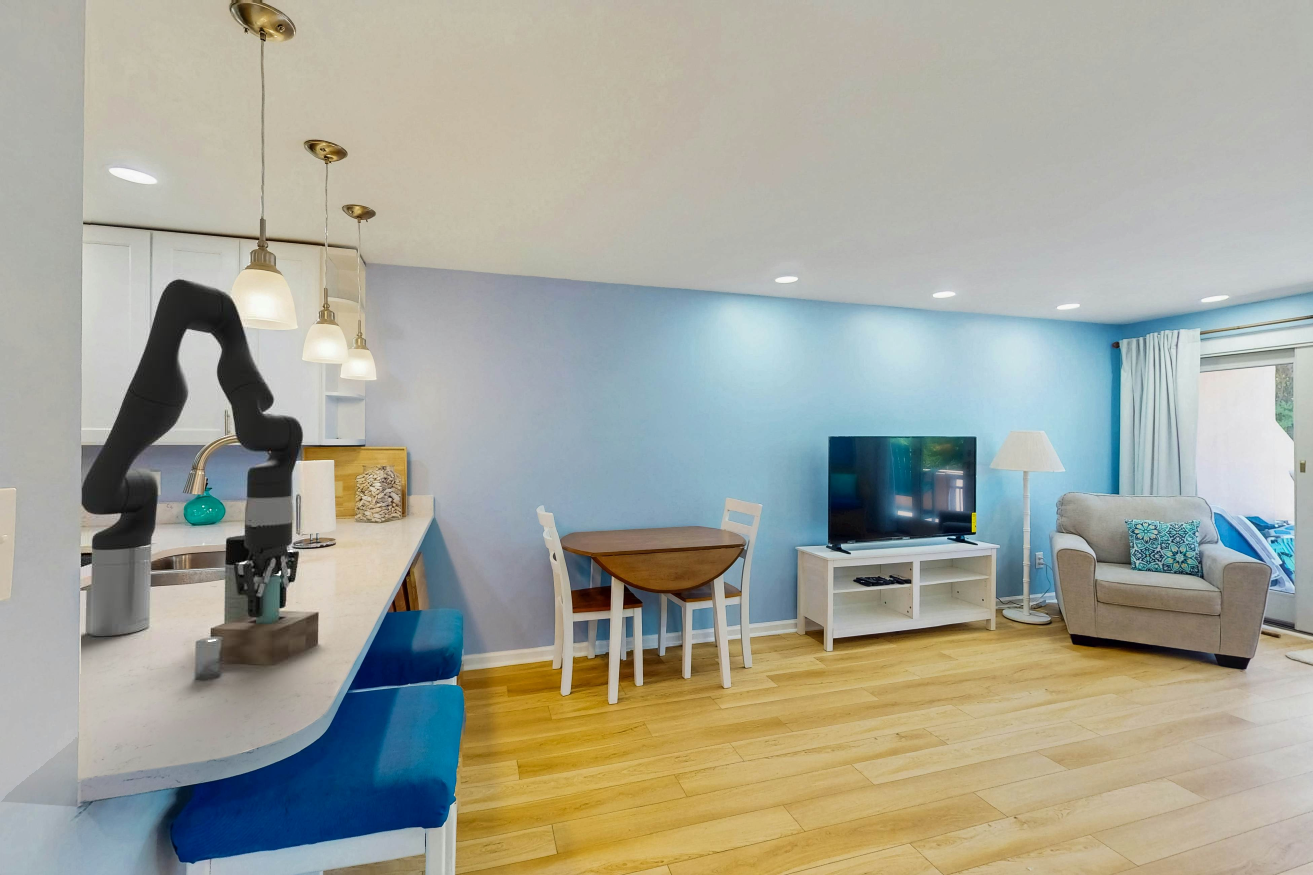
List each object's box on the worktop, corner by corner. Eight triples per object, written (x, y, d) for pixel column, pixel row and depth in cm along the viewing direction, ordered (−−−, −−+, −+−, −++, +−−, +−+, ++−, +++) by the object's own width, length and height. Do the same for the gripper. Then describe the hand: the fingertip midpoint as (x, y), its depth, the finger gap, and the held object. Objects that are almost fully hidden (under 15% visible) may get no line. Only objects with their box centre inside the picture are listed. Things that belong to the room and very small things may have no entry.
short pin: (189, 680, 99) (189, 643, 99) (207, 671, 103) (207, 636, 103) (209, 681, 99) (210, 644, 99) (227, 672, 102) (227, 637, 102)
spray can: (272, 633, 124) (273, 535, 124) (239, 643, 117) (241, 540, 117) (248, 630, 126) (250, 533, 126) (215, 639, 119) (217, 538, 120)
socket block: (209, 662, 107) (210, 628, 107) (260, 640, 119) (260, 609, 119) (273, 665, 106) (274, 630, 106) (318, 642, 118) (318, 611, 118)
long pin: (250, 654, 111) (252, 578, 111) (265, 648, 115) (266, 574, 115) (269, 655, 111) (270, 578, 111) (283, 649, 114) (284, 574, 114)
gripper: (277, 516, 120) (275, 601, 120) (219, 525, 106) (217, 622, 106) (313, 516, 120) (311, 603, 119) (259, 526, 105) (257, 624, 105)
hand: (267, 611), depth 113 cm, fingers open, 5 cm apart
